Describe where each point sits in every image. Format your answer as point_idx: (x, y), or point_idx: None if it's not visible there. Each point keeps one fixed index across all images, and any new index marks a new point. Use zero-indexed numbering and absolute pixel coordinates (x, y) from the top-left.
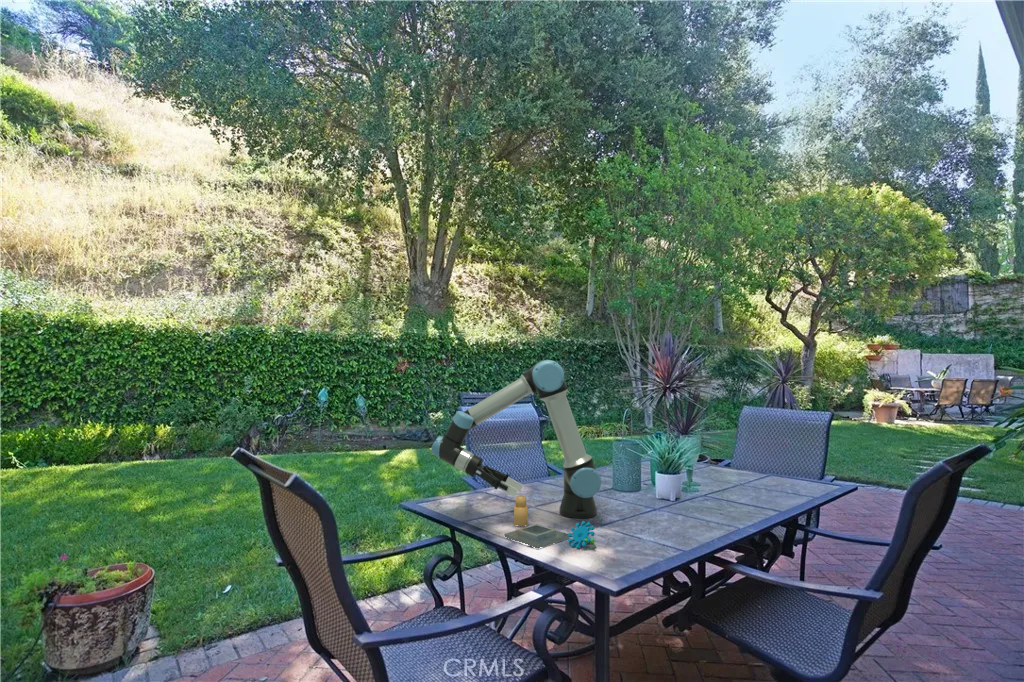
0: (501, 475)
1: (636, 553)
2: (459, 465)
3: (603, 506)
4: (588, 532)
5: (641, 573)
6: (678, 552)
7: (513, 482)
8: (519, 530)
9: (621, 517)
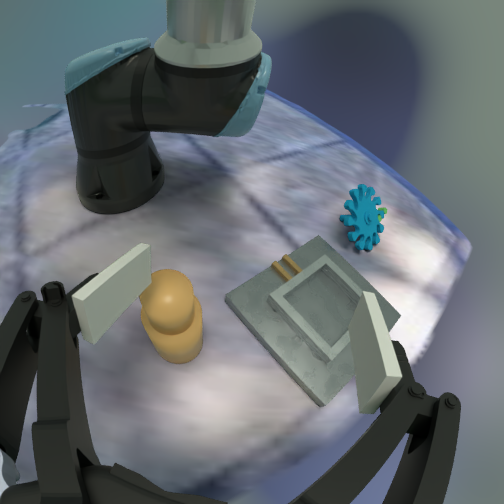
0: (67, 350)
1: (369, 180)
2: None
3: None
4: (375, 203)
5: (430, 204)
6: (352, 147)
7: (117, 284)
8: (338, 353)
9: (178, 137)
